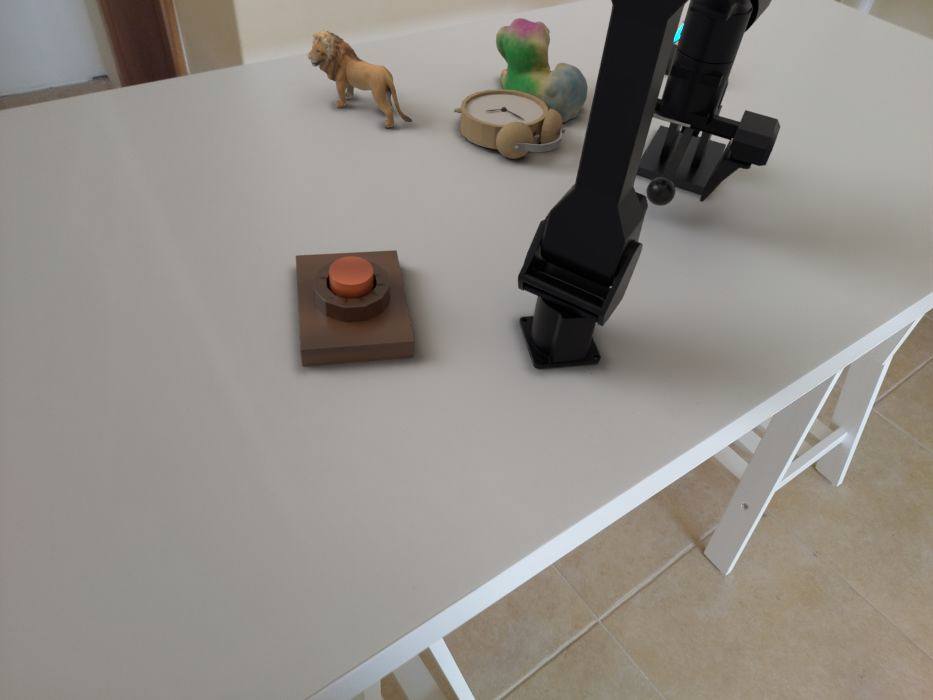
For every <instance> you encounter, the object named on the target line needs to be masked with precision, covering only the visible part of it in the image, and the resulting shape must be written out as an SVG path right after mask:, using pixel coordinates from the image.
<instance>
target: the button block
mask: <svg viewBox="0 0 933 700" xmlns="http://www.w3.org/2000/svg"><path fill="white" fill-rule="evenodd" d="M349 256H353V257H360V258H363V259H365V260H367V261H368V262H369V263H370V264H371V265H372V267H373V280H374V285H373V289H372V291H371V292H370V293H369V294H367V295H365V296H363V297H361V298H350V299H346V298H343V297H340V296H337V295H336V294H334V293H333V292H332V290H331V288H330V280H329V268H330V266H331V264H332V263H333V262H334V261H336V260H338V259H340V258H343V257H349ZM295 273H296V291H297V292H296V293H297V309H298V310H297V313H298V330H299V331H298V332H299V333H298V334H299V350H300V351H299V352H300V359H301V366H302V367H312V366H313V367H314V366H324V365H336V364H350V363H362V362H363V363H364V362H374V361H388V360H400V359H412V358H414V357H415V336H414V330H413V327H412V326H413V325H412V322H411V316H410V312H409V306H408V301H407V296H406V291H405V287H404V286H405V285H404V281H403V276H402V271H401V266H400V261H399V255H398V251H397V250H395V249H394V250H379V251H378V250H377V251H376V250H375V251H373V250H372V251H356V252H338V253H336V252H335V253H318V254H298V255H297V254H296V255H295Z"/></svg>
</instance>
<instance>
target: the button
mask: <svg viewBox="0 0 933 700" xmlns="http://www.w3.org/2000/svg"><path fill="white" fill-rule="evenodd" d="M329 280H330V288H331V290H332V292H333V293H334V294H336V295H337V296H340V297H343V298H346V299H350V298H361V297H363V296H365V295H367V294H369V293H370V292H371V291H372V289H373V285H374V280H373V267H372V265H371V264H370V263H369V262H368V261H367V260H365V259H363V258H360V257H353V256H349V257H343V258H340V259H338V260H336V261H334V262H333V263H332V264H331V266H330V268H329Z"/></svg>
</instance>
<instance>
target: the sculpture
mask: <svg viewBox="0 0 933 700" xmlns="http://www.w3.org/2000/svg"><path fill="white" fill-rule="evenodd" d="M550 32H551V31H550V29H549V28H548V26H547V25H546V24H545V23H544V22H542V21H531V20H528V19H526V18H522V17H519V18H515V19H513V21H512V22H511V23H510V25H503V26H501V27H500V28H499V29H498V30H497V33H496V36H495V45H496V50H497V51H498V53H499V55H500V56H501V57H502V59H504V60H505V63H506V64H507V66H506V67H507V68H503V69H502V70H501V72H500V76H499V77H500V78H499V81H500V84H501V86H502V88H503V89H504V90H515V91H520V92H524V93H528V94H530V95H533V96H535V97H537V98H539V99H540V100H542V101H543V102H544V103H545V104H546V106H547V107H548V111H549V109H553V110H556V111H557V112H558V113H559V114H560V115H561V118H562V123H567V122H568V121H569V120H572V119H575V118H576V117H578V114H579V113H580V111H581V109H582V107H583V106H584V105H585V103H586V100H587V97H588V82H587V79H586V77H585V75H584V74H583V72H582V71H581V70H580V69H579V68H578V67H577V66H575V65H572V64H569V63H566V62H560V63H558V64H556V65H555V68H554V69H553V70H551V66H550V63H549V47H550V42H551V37H550Z"/></svg>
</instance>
